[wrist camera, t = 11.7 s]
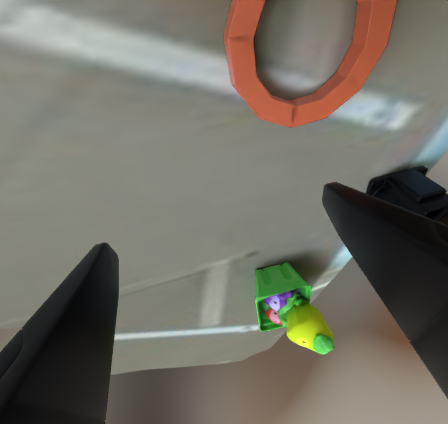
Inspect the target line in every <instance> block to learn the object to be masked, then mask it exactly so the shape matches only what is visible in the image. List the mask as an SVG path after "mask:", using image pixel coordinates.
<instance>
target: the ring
mask: <svg viewBox="0 0 448 424" xmlns="http://www.w3.org/2000/svg"><path fill="white" fill-rule="evenodd" d="M356 2H357V12H356V19H355V26H354V34H353V41H352V44H351V46H350V48H349V50H348V51H347V53H346V55H345V57H344V59H343V61H342V63H341V65H340V66H339V68H338V70H337V72H336V74H335V75H333V76H332V77H331V78H330V79H329V80H328V81H327V82H326V83H324V84H323V85H322V86H321V87H320V88H319V89H318V90H316V91H315V92H314V93H313V94H310V95H306V96H303V97H299V98H296V99H292V100H286V99H283V98H280V97H277V96H274V95H271V94H269V92H268V91H267V89H266V88H265V87H264V85H263V84H262V82H261V81H260V79H259V78H258V77H257V73H256V63H255V53H254V43H253V38H254V35H255V32H256V28H257V25H258V22H259V19H260V16H261V13H262V10H263V6H264V3H265V0H232V2H231V6H230V10H229V14H228V18H227V22H226V26H225V30H224V34H223V35H224V36H223V38H224V44H225V50H226V56H227V62H228V68H229V74H230V79H231V83H232V85H233V87H234V88H235V89H236V90H237V92H238V93H239V94H240V95H241V97H242V98H243V99H244V100H245V102H246V103H247V104H248V105H249V107H250V108H251V109H252V110H253V112H254V113H255V114H256V115H257V117H258V118H260V119H263V120H266V121H270V122H273V123H276V124H280V125H283V126H287V127H291V128H292V127H296V126H299V125H303V124H306V123H310V122H313V121H317V120H321V119H324V118H326V117H328V116H329V115H330V114H331V113H333V112H334V111H335V110H336V109H337V108H339V107H340V106H341V105H342V104H343V103H345V102H346V101H347V100H348V99H350V98H351V97H352V96H353V95H354V94H356V93H357V92H358V91H359V90H360V89H361V87H362V85H363V84H364V82H365V80H366V79H367V77H368V76H369V74H370V72H371V71H372V69H373V67H374V66H375V64H376V63H377V61H378V59H379V58H380V56H381V54H382V53H383V51H384V49H385V48H386V46H387V42H388V38H389V34H390V29H391V25H392V20H393V16H394V11H395V7H396V3H397V0H356Z"/></svg>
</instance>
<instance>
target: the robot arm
mask: <svg viewBox="0 0 448 424" xmlns="http://www.w3.org/2000/svg"><path fill="white" fill-rule="evenodd" d="M427 171H428V168H427V167H425V166H420V167H417V168H413V169H409V170H406V171H402V172H398V173H395V174H391V175H387V176H384V177H380V178H376V179H373V180H372V181H370V183H369V185H368V189H367V192H366V193H363V192H360V191H358V190H355V189H353V188H350V187H348V186H345V185H343V184H340V183H337V182H332V183H328V184H326V185H325V186H324V190H323V197H322V203H323V206H324V208H325V210H326V212H327V214H328V216H329V218H330V220H331V222H332V223H333V225H334V227H335V229H336V231H337V233H338V235H339V237H340V238H341V240H342V241H343V243H344V244H345V246H346V247H347V249H348V250H349V252H350V253H351V255H352V256H353V258H354V259H355V260H356V262H357V264H358V265H359V267H360V268H361V270H362V271H363V272H364V274H365V276H366V277H367V279H368V280H369V281H370V283H371V285H372V286H373V288H374V289H375V291H376V292H377V294H378V295H379V297H380V298H381V300H382V301H383V302H384V304H385V306H386V307H387V309H388V310H389V311H390V313H391V314H392V316H393V317H394V319H395V320H396V322H397V323H398V325H399V327H400V328H401V329H402V331H403V332H404V334H405V335H406V337H407V338H408V340H410V343H411V345H412V346H413V348H414V349H415V351H416V352H417V354H418V355H419V357H420V358H421V360H422V361H423V363H424V364H425V365H426V367H427V369H428V370H429V372H430V373H431V375H432V376H433V378H434V379H435V380H436V382H437V383H438V385H439V387H440V388H441V389H442V391H443V393H444V394H445V396H446V397H447V399H448V194H446V190H445V189H444V188H443V187H441V186H440V185H438V184H437V183H435V182H433V181H432V180H430V179H429V178H427V177H426V176H425V175H426V173H427ZM118 297H119V259H118V255H117V254H116V252H115V251H114V250H113V249H112V248H111V247H110V245H109V244H108V243H101V244H97V245H95V246H94V247H93V248H92V249H91V250H90V251H89V253H88V254H87V255H86V256H85V257H84V258H83V259H82V260H81V262H80V263H79V264H78V265H77V266H76V267H75V268H74V270H73V271H72V272H71V273H70V274H69V275H68V276H67V277H66V279H65V280H64V281H63V282H62V283H61V284H60V285H59V286H58V288H57V289H56V290H55V291H54V292H53V293H52V294H51V296H50V297H49V298H48V299H47V300H46V301H45V302H44V303H43V305H42V306H41V307H40V308H39V309H38V310H37V311H36V312H35V314H34V315H33V316H32V317H31V318H30V319H29V320H28V322H27V323H26V324H25V325H24V326H23V327H22V330H20V331H19V332H18V333H17V334H16V335H15V336H14V337H13V339H12V340H11V341H10V342H9V343H8V344H7V345H6V346H5V347H4V348H3V350H2V351H1V352H0V424H105V420H106V411H107V401H108V390H109V382H110V373H111V363H112V354H113V345H114V335H115V326H116V316H117V307H118Z"/></svg>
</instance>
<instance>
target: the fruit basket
mask: <svg viewBox="0 0 448 424" xmlns="http://www.w3.org/2000/svg"><path fill="white" fill-rule="evenodd" d="M255 281H256V296H255V302H256V308H257V315H258V322H259V329H260V331H269V330H273V329H277V328H281V327H285V326H287V336H288V338H289V339H290V340H291V341H293V342H294V343H297V344H299V345H301V346H304V347H307V348H309V349H311V350H313V351H316V352H318V353H319V354H327V353H328V352H329V351H330V350H331V351H332V350H333V349H334V346H333V334H332V332H331V330H330V329H329V327H328V326H327V324H326V323H325V321H324V318H323V316H322V315H321V313H320V312H319V311H318V310H317V309H316V308H315V307H314V306H312V305H311V304H309V302H310V296H311V289H312V288H311V286H310V285H309V284H308V283H307V282H305V281H304V280H303V279H302V278H301V277H300V276H299V274H298V273H297V272H296V271H295V270H294V269H293V268H292V266H291V265H290V264H289V263H288V262H286V263H283V264H281V265H274V266H270V267H266V268H264V269H258V270H255Z"/></svg>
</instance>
